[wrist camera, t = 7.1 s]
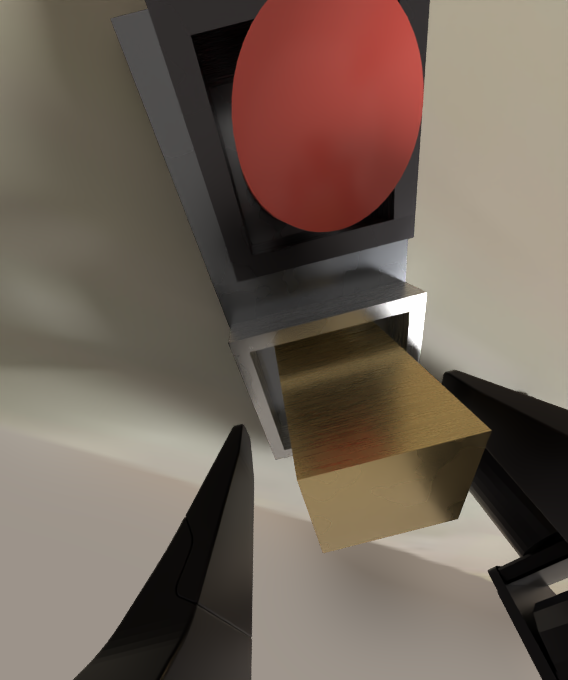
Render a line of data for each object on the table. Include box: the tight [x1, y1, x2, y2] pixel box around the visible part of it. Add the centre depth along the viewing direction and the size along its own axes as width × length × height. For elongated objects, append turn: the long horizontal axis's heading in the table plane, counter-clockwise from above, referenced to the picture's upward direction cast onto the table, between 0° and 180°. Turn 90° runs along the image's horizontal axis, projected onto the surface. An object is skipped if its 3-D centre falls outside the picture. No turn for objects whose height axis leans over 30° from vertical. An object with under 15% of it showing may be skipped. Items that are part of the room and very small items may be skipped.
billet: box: [274, 321, 492, 553], centre depth 9 cm, size 4×4×6 cm
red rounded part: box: [232, 0, 424, 232], centre depth 5 cm, size 3×3×3 cm
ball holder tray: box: [111, 0, 430, 460], centre depth 9 cm, size 16×8×3 cm, turn 12°
